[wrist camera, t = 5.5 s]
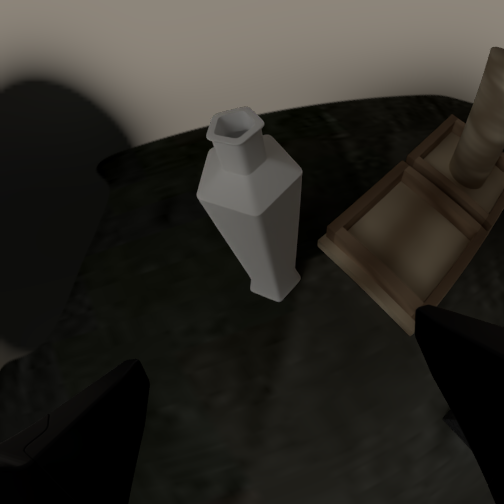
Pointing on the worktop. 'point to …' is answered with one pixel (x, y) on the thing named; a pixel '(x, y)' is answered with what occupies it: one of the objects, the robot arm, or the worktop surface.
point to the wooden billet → (482, 128)
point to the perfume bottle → (253, 199)
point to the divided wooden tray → (415, 228)
